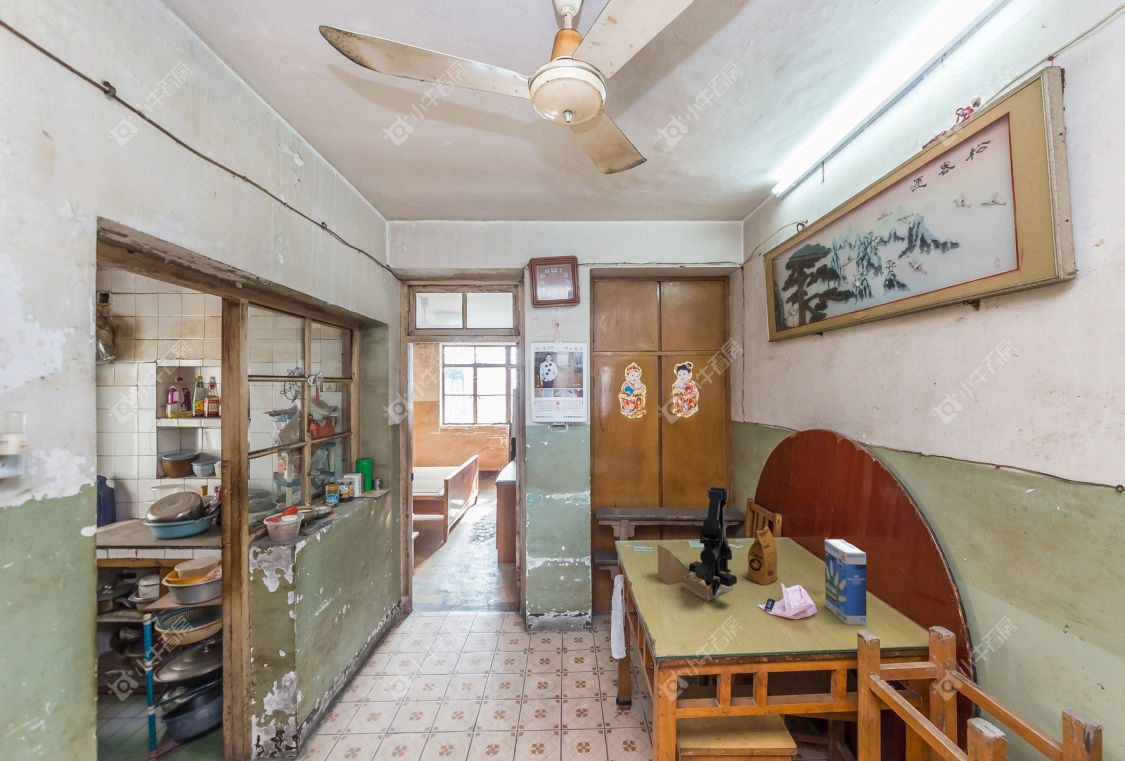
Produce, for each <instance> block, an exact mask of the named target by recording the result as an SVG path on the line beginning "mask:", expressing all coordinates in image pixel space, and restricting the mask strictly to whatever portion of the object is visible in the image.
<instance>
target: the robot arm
mask: <svg viewBox="0 0 1125 761" xmlns="http://www.w3.org/2000/svg"><path fill="white" fill-rule="evenodd" d="M707 498H708V499H709V505H708V509H707V516H706V518H705V519H703V523H702V525H701V526H700V537H699V544H703V547H702V550H701V552H700V554H699V558H700V561H698V560H696V561H694V562H693V561H692V562H691V563H689V565H688V570H689V571H690V572H691V573H696V577H697V578H700V579H702V580H704V581H705V584H706V586H708V585H710V584H712V583H713V596H715V595H716V593H717V591H718V589H719V587H720V585H721V584H722V585H725V586H727V587H730V586H732V585H733V586H734V585H736V584H738V578H737V576H736V575H734V574H731V573H730V572H732V570H731V569H730V568H729V561H731V560H733V553H732V552H733V551H732V549H731V546H730V545H729V541H728V539H727V537H726V535H725V533H726V532H725V507H726V506H725V505H726V504H727V501H728V499H729V490H727V489H726V487H719V486H711V487H710V488H708V489H707ZM720 571H723V572H725V573H726V574H722V573H720ZM713 576H714V579H713Z"/></svg>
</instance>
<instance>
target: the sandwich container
mask: <svg viewBox="0 0 1125 761" xmlns="http://www.w3.org/2000/svg"><path fill="white" fill-rule="evenodd" d="M690 573H692V572H691V571H689V568H687V566H686V565H685V564H684V563H683V562H681V560H680V559H679V558H678V557H677V556H676V555H675V554H674V553H673V552H672V551H671V550H670V549H668V548H667V547H665V546H663V545H661V544H658V543H657V576H658V577H657V578H659V579H660V580H662V581H663V582H665V583H666V584H668V585H676V584H679V583H682V577H683V576H686V575H688V574H690Z"/></svg>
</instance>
